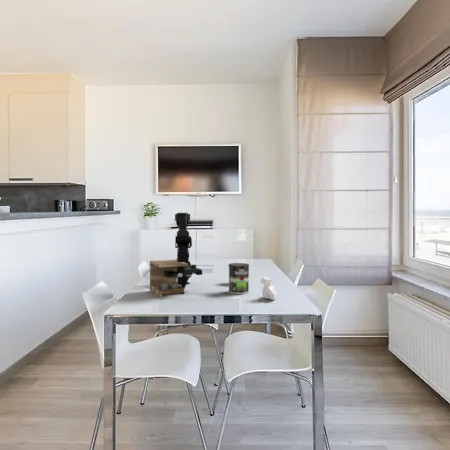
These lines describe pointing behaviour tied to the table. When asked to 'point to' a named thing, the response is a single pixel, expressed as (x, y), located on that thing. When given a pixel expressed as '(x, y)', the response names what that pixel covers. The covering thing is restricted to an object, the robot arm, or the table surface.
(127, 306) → the table surface
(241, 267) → the coffee can
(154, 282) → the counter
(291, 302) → the table surface
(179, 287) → the tray
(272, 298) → the duck figurine
